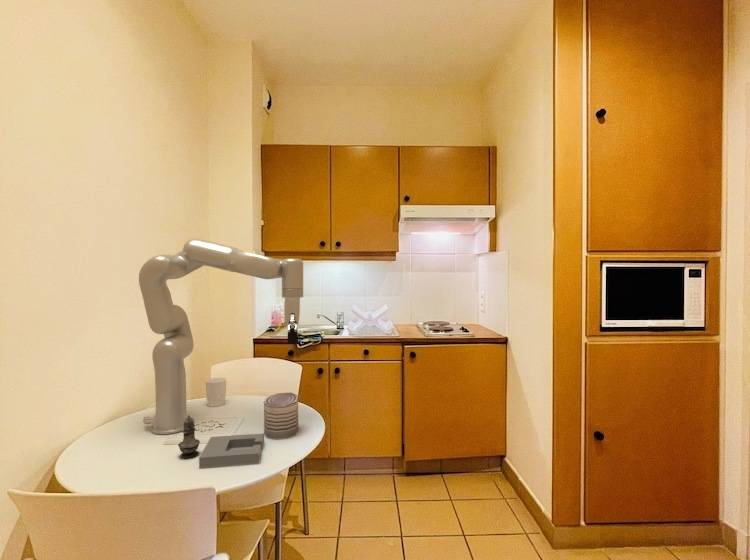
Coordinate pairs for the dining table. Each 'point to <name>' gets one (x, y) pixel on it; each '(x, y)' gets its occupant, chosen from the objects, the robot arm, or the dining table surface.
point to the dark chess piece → (189, 440)
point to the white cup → (216, 391)
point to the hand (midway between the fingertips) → (292, 340)
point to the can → (281, 416)
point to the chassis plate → (232, 450)
